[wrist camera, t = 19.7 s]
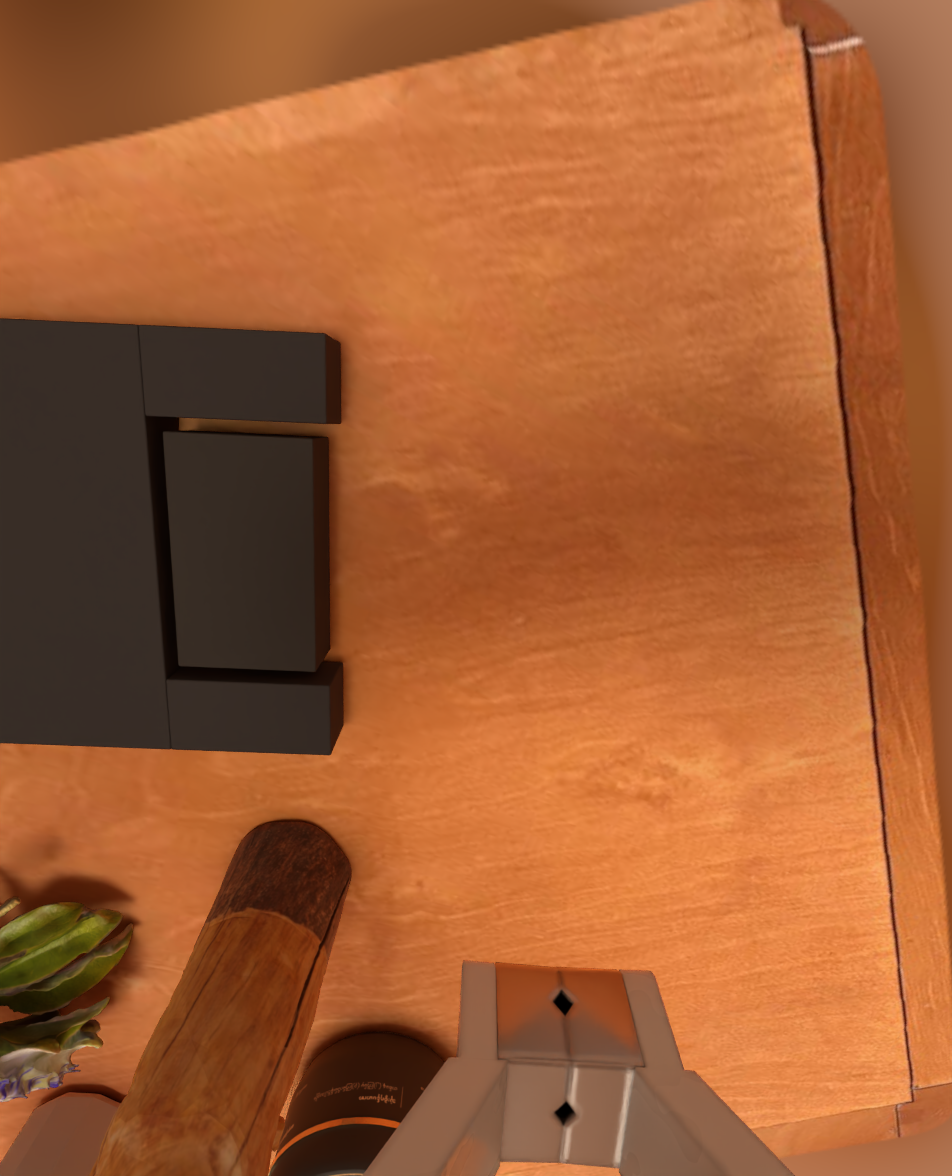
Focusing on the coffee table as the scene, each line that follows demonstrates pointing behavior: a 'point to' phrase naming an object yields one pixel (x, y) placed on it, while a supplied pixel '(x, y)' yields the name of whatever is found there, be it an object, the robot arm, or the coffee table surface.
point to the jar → (352, 1104)
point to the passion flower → (51, 989)
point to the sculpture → (236, 1016)
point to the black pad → (249, 548)
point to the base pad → (135, 535)
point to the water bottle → (61, 1137)
